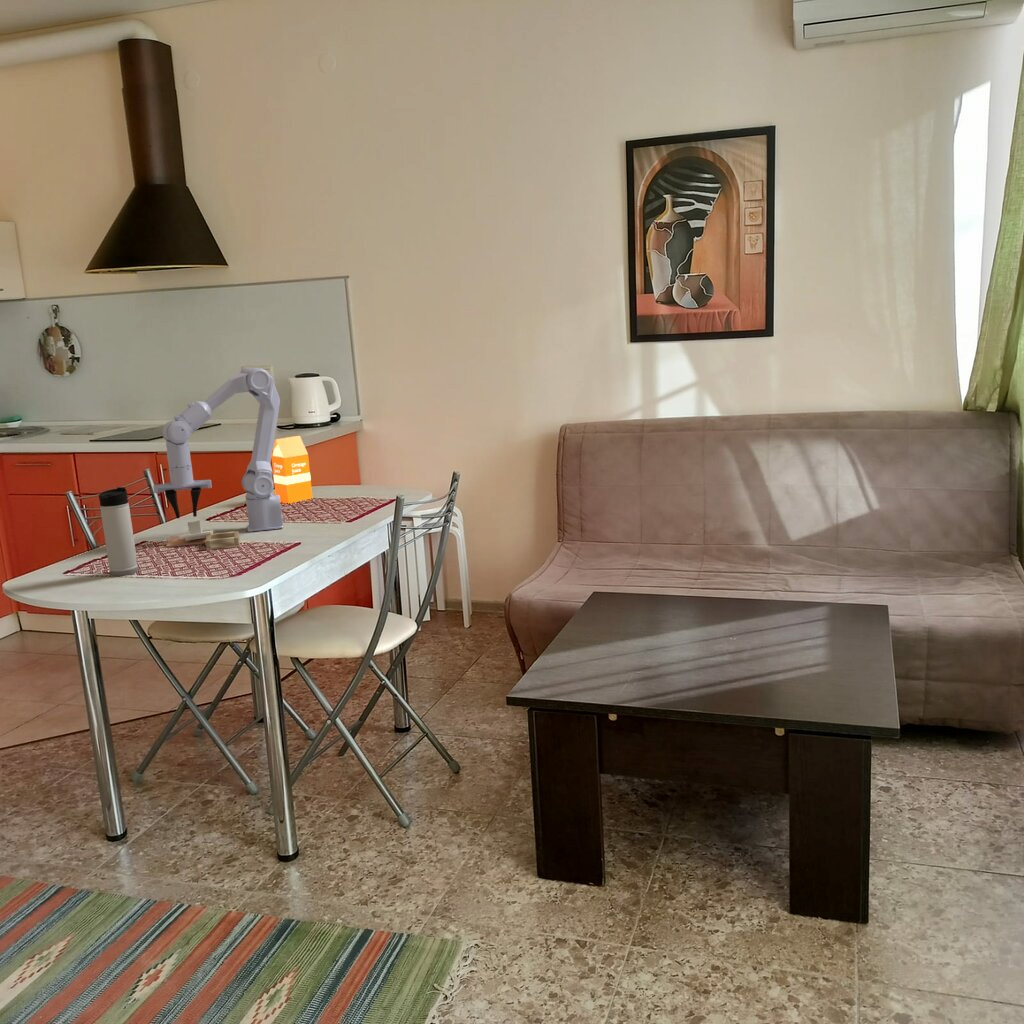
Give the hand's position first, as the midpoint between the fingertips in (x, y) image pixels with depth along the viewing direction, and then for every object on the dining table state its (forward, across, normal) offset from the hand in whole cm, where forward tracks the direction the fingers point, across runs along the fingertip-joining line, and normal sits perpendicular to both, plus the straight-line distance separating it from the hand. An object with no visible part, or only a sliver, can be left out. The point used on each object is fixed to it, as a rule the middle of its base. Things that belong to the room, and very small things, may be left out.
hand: (186, 516), depth 260 cm
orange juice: (+7, -29, -44) cm, 53 cm away
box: (+6, -9, +10) cm, 15 cm away
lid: (+5, -2, +3) cm, 6 cm away
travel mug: (+7, +13, +28) cm, 32 cm away
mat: (+6, 0, 0) cm, 7 cm away
